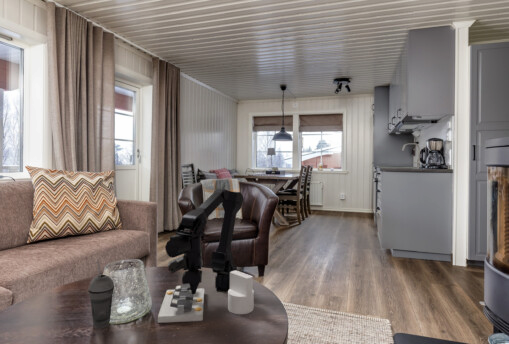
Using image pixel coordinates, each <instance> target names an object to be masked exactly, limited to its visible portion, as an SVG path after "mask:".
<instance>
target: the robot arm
mask: <svg viewBox="0 0 509 344" xmlns="http://www.w3.org/2000/svg"><path fill="white" fill-rule="evenodd" d="M243 202H244V195H243V193H242V192H241V191H231V190H229V189H227V188H226V189H225V188H216V189H215V190H214V191H213V193H211V195H210V196H209V197H208V198H206V199H205V201H204V202H203V203H201V204H200V205H199V206H198V207H197V208H195V209H193V210H190V211H188V212H187V213H185V214H184V215H182V217H181V220H180V223H179V224H178V227H177V229H176V231H175V232H174V233H175V235H170V237H169V240H168V241H167V242H166V244H165V246H164V248H165V252H166V254H167V256H168V257H170V258H173V260H169V261H168V264H167V267H168V271H169V272H170V274H174V273H176V272H178V271H180V270H182V271H184V272H183V274H182V276H181V283H182V285H183V284H189V285H190V288H191V292H192V294H195V293H196V290H197V289H199V288H198V287H199V285H200V284H201V283H202V276H203V270H202V268H203V265H204V261H203V259H202V236H205V235H206V233H205V232H204V231H203V229H204V228H205V226H206V225H207V223H208V218H209V217H210V216H211V215H212V214H213V212H214V211H215V210H216V209H217V208H218V207H219V206H220V205H221V206H222V208H223V209H222V210H223V219H222V224H221V231H220V235H219V242H218V246H217V248H216V250H212V253H211V258H210V260H209V261H210V266H211V270H212V272H213V273H214V274H215V273H216V275H214V276H215V278H214V280H215V281H214V284H215V285H214V288H215V290H216V291H217V292H228V290H229V289H230V272H232V271H235V270H236V271H238V267H237V266H236V264H235V263H234V255H233V252H232V250H231V249H232V243H233V236H234V231H235V225H236V218H237V214H238V213H239V211H240V210H241V209H242V207H243V206H242V205H243ZM182 255H183V256H182ZM176 257H177V258H176Z"/></svg>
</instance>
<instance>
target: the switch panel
mask: <svg viewBox="0 0 509 344" xmlns="http://www.w3.org/2000/svg"><path fill="white" fill-rule="evenodd" d="M182 285H184V284H183V283H182ZM174 291H175V289H166V292H165V295H164V298H163V301H162V304H161V305H160V309H159V312H158V316H157V324H159V323H160V324H162V323H164V324H165V323H182V322H201V321H203V319H204V303H205V288H204V287H201V288H197V290H196V293H195V294H194V296H193V300H186V296H180V298H179V300H183V301H188V302H192V303H193V304H192V310H191V311H189V310H184V305H178V306H177V308H175V307H170V304H171V301H172V298H173V293H174ZM181 292H191V290H188V291H187V288H182V290H181Z"/></svg>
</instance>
